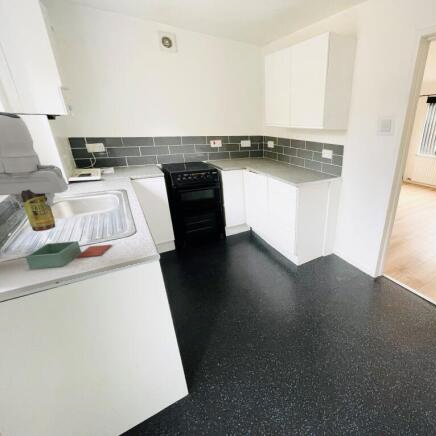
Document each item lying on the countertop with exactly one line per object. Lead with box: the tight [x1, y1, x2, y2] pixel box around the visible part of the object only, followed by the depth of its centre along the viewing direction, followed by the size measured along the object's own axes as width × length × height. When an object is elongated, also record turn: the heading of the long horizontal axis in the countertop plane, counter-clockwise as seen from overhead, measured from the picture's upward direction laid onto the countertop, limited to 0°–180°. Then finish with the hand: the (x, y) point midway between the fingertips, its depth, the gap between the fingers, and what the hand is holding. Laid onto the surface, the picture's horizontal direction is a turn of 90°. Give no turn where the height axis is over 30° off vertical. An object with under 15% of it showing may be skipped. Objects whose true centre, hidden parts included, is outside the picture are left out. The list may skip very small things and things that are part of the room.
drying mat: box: [76, 244, 112, 259], centre depth 98 cm, size 8×9×1 cm
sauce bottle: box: [20, 190, 56, 232], centre depth 84 cm, size 7×6×20 cm
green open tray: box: [24, 240, 82, 270], centre depth 91 cm, size 10×11×5 cm
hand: (37, 206), depth 84 cm, fingers closed on sauce bottle, 6 cm apart
